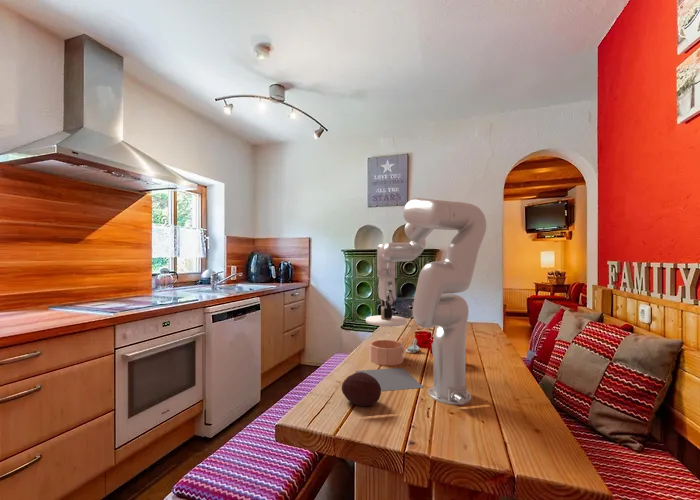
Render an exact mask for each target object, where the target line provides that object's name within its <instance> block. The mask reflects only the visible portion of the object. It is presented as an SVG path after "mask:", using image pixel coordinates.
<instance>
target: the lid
mask: <svg viewBox="0 0 700 500" xmlns="http://www.w3.org/2000/svg"><path fill="white" fill-rule="evenodd" d="M384 308H385V306H382V307H381V306H380V315H379V314H378V315H370V316H367V317H366V318H365V323H366V324H368V325H370V326H371V325H372V326H377V327H378V326H379V327H399V326H403V325H404V326H405V325H406V324H407V321H408V320H407V318H405V317H403V316H397V315H392V318H384Z"/></svg>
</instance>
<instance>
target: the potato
mask: <svg viewBox="0 0 700 500" xmlns="http://www.w3.org/2000/svg"><path fill="white" fill-rule="evenodd" d="M341 392H342V394H343V396H344V397H345V398H346V399H347V401H349V402H350V403H351V404H353V405H356V406H358V407H368V406H369V407H370V406H373V405H374V404H376V403H377V402H378V401H379V400H380V397H381V395H382V391H381V387H380V384H379V383H378V381H377V380H376V379H375V378H374V377H372V376H371V375H369V374H367V373H363V372H358V373H356V372H354V373H352V374H350V375H349V376H347V377H346V378H345V379H344V380H343V383H342V385H341Z"/></svg>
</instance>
